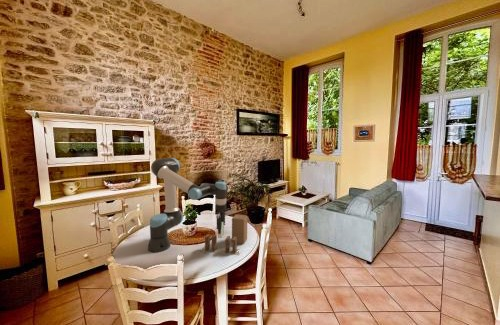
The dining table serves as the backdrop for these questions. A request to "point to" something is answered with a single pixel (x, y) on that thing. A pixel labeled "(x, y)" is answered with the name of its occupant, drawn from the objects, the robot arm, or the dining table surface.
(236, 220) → the block
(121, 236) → the dining table surface
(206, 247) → the domino
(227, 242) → the domino
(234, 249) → the domino
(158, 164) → the robot arm
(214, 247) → the domino
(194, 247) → the dining table surface
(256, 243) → the dining table surface
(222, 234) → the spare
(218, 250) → the runner
